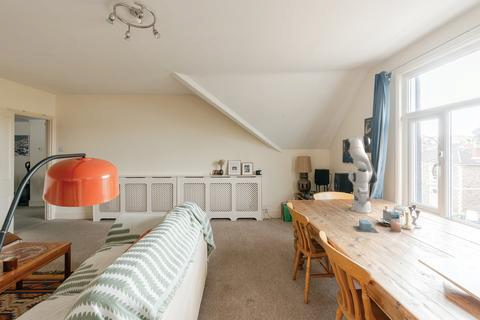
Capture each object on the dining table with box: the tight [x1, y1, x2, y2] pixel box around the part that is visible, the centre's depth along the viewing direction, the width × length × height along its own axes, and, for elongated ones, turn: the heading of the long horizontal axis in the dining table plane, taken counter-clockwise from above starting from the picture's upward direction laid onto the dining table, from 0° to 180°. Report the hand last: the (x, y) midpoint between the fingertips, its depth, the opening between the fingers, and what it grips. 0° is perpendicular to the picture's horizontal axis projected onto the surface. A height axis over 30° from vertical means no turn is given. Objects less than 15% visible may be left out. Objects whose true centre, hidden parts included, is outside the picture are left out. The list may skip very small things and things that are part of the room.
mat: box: [353, 225, 379, 234], centre depth 160 cm, size 11×14×1 cm
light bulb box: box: [382, 208, 401, 224], centre depth 171 cm, size 11×7×11 cm, turn 179°
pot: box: [390, 221, 402, 233], centre depth 157 cm, size 6×6×6 cm
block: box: [358, 219, 372, 231], centre depth 161 cm, size 5×6×10 cm
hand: (360, 205), depth 176 cm, fingers open, 8 cm apart
